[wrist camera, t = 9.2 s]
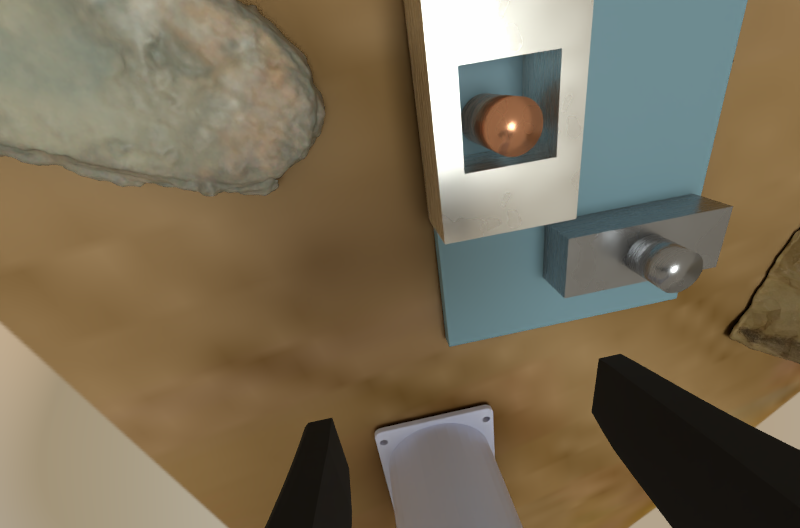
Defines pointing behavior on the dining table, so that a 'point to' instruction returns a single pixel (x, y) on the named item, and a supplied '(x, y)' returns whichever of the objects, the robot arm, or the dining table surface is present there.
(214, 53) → the long grey stone
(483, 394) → the dining table surface
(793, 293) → the rock
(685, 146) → the board
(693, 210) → the metal knob block
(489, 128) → the copper cylinder peg
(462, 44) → the silver block with hole
